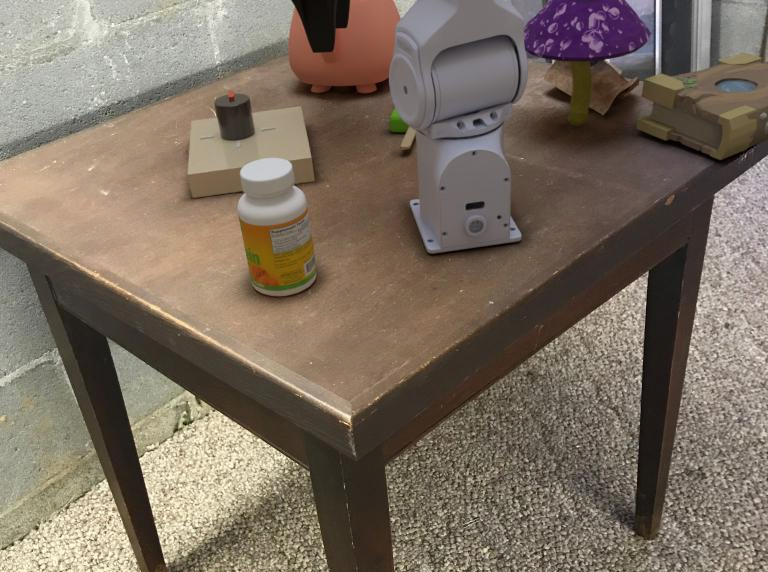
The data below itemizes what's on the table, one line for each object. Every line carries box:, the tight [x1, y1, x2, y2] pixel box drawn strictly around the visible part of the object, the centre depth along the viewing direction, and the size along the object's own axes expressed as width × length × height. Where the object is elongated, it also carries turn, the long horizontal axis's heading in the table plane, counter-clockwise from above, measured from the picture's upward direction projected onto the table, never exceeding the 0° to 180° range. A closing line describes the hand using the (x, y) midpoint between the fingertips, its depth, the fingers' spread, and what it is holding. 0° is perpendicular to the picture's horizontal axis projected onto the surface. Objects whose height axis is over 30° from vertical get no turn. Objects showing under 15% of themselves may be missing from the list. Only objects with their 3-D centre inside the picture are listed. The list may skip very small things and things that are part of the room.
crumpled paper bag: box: [542, 60, 641, 116], centre depth 96 cm, size 6×12×8 cm
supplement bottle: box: [236, 158, 318, 297], centre depth 68 cm, size 5×5×10 cm
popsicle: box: [389, 107, 416, 150], centre depth 93 cm, size 6×15×2 cm, turn 168°
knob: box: [213, 90, 255, 140], centre depth 89 cm, size 4×4×4 cm
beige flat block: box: [186, 105, 316, 199], centre depth 90 cm, size 14×12×3 cm
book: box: [636, 52, 768, 161], centre depth 85 cm, size 15×11×5 cm
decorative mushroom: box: [524, 0, 652, 127], centre depth 85 cm, size 12×12×15 cm
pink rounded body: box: [288, 0, 402, 94], centre depth 104 cm, size 13×20×12 cm, turn 164°
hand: (330, 39), depth 90 cm, fingers open, 7 cm apart
